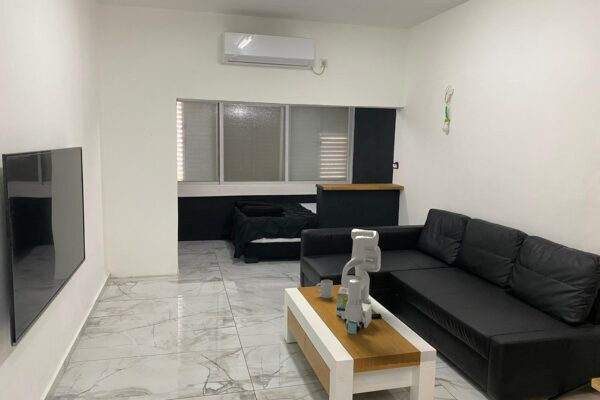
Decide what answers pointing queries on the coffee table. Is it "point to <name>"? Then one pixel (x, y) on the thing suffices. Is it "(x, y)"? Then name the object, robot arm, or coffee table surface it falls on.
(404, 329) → the coffee table surface
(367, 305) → the white arch block
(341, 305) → the tea box
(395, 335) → the coffee table surface
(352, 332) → the pale blue rectangular block
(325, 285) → the mug
